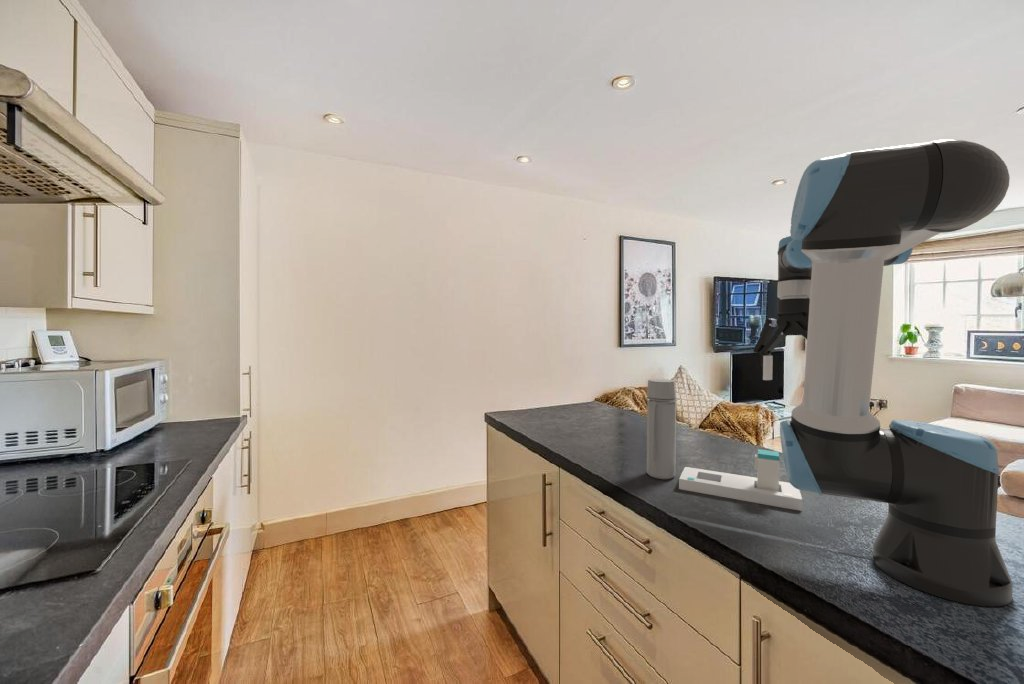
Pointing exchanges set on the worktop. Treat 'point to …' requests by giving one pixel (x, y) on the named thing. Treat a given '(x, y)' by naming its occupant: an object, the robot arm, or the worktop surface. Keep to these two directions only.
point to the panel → (739, 488)
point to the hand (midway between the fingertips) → (793, 382)
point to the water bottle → (661, 428)
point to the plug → (767, 470)
